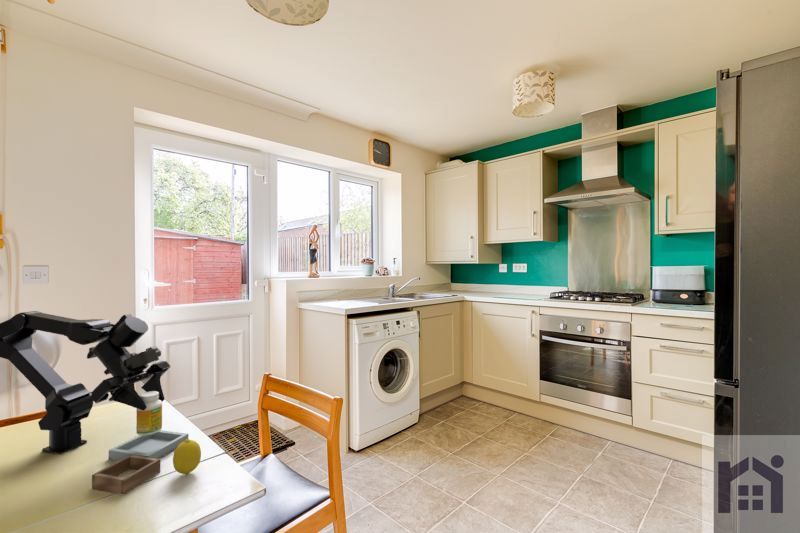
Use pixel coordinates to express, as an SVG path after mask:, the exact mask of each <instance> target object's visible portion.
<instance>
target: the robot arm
mask: <svg viewBox="0 0 800 533" xmlns="http://www.w3.org/2000/svg"><path fill="white" fill-rule="evenodd" d="M37 331H41V332H44V333H45V332H46V333H50V334H57V335H61V336H65V337H67V338H68V340H69V341H70V342H73V343H76V344H78V345H81V346H87V345H91V344H94V343H97V344H96V345H95V346H92V347H89V348H88V352H87V355H86V359H93V358H98V360H99V361H100V362H101V364H102V365H103V366H104V367H105V370H103V373H104V375H105V376H107V375H111V377H109V378H105V379H103V380H102V381H101V382H100V383H99V384H98V385H97V386H96V387H95V388H94V389H93V390H92V391H90V390H88V389H87V388H86V386H85V385H84V384H83V383H81V382H79V383H75V384H69V383H67V382H66V380H64V379H63V377H61V375H60V374H59V373H58V372H57V371H56V370H55V369H53V367H52V366H51V365H50V364H49V363H48V362H47V361H46V360H45V359H44V358H43V357H42V356H41V355H40V354H39V353H38V352H37V350H35V349H34V348H33V337H32V336H33V335H34V334H35V333H36V332H37ZM148 331H149V326H148V324H147V322H146V321H144V320H142V319H140V318H138V317H136V316H133V315H132V314H131V313H128V314H127V313H126V314H123V315H122V316H120V318H119V319H118V321H116V323H111V321H109V320H108V319H101V318H100V319H99V318H98V319H97V318H96V319H95V318H94V319H93V318H92V319H76V318H72V317H71V318H70V317H65V316H60V315H54V314H49V313H45V312H41V311H39V310H32V311H23V312H19V313H16V314H15V315H14V316H12V317H11V318H9V319H7V320H5V321H3V322H1V323H0V358H2V359H5V360H8V361H9V362H10V363H12V365H13V366H14V367H15V368H16V369H17V370H18V371H19V372H20V373H21V374H22V375H23V377H25V379H26V380H27V381H29V383H30V384H32V385H33V387H34V388H35V389H36V390H37V391H38V392H40V394H41V395H42V396H43V397H44V399H45V403H44V404H45V405H44V408H45V411H46V412H47V413H46V414H45V415H44V416H42V418H41V419H40V420H39V421H38V426H39V427H38V428H39V430H40V431H49V432H48V434H49V435H48V438H49V439H48V446H45V447H44V448H42V449H41V452H46V453H53V454H58V455H61V454H64V453H66V452H68V451H70V450H73V449H75V448H78V447H79V446H82V445H84V444H86V443H87V442H88V440H87V439H82V422H81V420H84V419H86V418H89V416H90V413H91V410H92V408H93V405H94V403H95V404H99V403H101V402H103V401H106V400H107V399H108V401H109V402H116V403H120V404H124V405H126V406H130V407H133V408H135V409H136V410H137V409H140V410H145V409H146V408H147V407H146V405H145V403H144V402H143V400H142V399H141V397H140V395H139V393H138V392H137V391H136V388H135V384H136V383H139V382H141V383H142V384H143V385H142V386H141V387H140V388H141V390H143V391H144V392H149V391H158V392H159V398H158V399H159V400H161V401H162V403H163V402H164V400H165V396H164V391H163V388H162V384H161V377H162V376H164V374H166V372H167V371H168V370H169V369H170V368H171V367H172V366H171V365H170V364H169V363H168V362H167V360H161V361H159V360H160V358H159V357H161V355H162V351H161V350H160V348H159V347H157V346H156V345H152V346H150V347H148V348H146V349H145V350H144V351H141V352H138V353H136V352H132V353H130V351H129V350H128V349H127V348H131V347H132V346H134V345H135V343H137V341H139V340H140V339H141V338H142V337H143V336H144V335H145V334H146V333H147V332H148ZM156 361H159V362H156ZM153 362H155V363H153ZM150 363H152V364H151V365H149V364H150ZM144 370H145V371H144ZM109 393H110V394H109ZM109 396H111V397H109Z"/></svg>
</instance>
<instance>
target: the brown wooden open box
mask: <svg viewBox="0 0 800 533" xmlns="http://www.w3.org/2000/svg"><path fill="white" fill-rule="evenodd" d="M128 471H134V472H132V473H131V474H129V475H127V476H126V477H123V476H122V477H121V475H123V474H124V473H127V472H128ZM160 473H161V458H160V459H156V458H149V457H143V456H136V455H129V456H127V457H125V458H123V459H121V460H119V461H117V460H116V462H114V463H112V464H110V465H108V466H106V467H104V468H103V469H100V470H99V471H97V472H95V473H93V474H92V475H91V490H94V491H101V492H106V493H111V494H116V495H122V496H125V495H126V494H128V493H131V491H133V490H134V489H136V488H138V487H139V486H141V485H142V484H145V483H146V482H147V481H149V480H150V479H152V478H153V477H155V476H157V475H158V474H160Z"/></svg>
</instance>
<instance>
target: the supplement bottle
mask: <svg viewBox="0 0 800 533" xmlns="http://www.w3.org/2000/svg"><path fill="white" fill-rule="evenodd" d="M139 396H140V397H141V399H142V400H143V402H144V403H145V405H146V407H147V408H146V409H145V410H140V409H137V408H136V434H137V436H139V435H140V436H146V435H151V434H155V433H157V432H159V431H160V430H162V428H163V402H162V401H161V400H159V399H158V398H159V392H158V391H149V392H146V391H144V392H142V393H141V394H140V395H139Z"/></svg>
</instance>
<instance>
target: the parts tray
mask: <svg viewBox="0 0 800 533" xmlns="http://www.w3.org/2000/svg"><path fill="white" fill-rule="evenodd" d="M187 439H189V433H187V432H186V433H185V432H178V431H170V430H164V429H163V430H162V429H161V430H160V431H159V432H157V433H155V434H151V435H146V436H140V435H137V436H134V437H133V438H131V439H128V440H127V441H125V442H123V443H120V444H118V445H117V446H114V447H113V448H110V449H108V460H113V461H116V462H117V461H119V460H121V459H123V458H125V457H127V456H129V455H136V456H143V457H149V458H156V459H160V460H161V458H163V457H165V456H167V455H169V454H170V453H172V452H175V450H176V448H177V447H178V445H179V444H181V443H182V442H184V441H185V440H187Z"/></svg>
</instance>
